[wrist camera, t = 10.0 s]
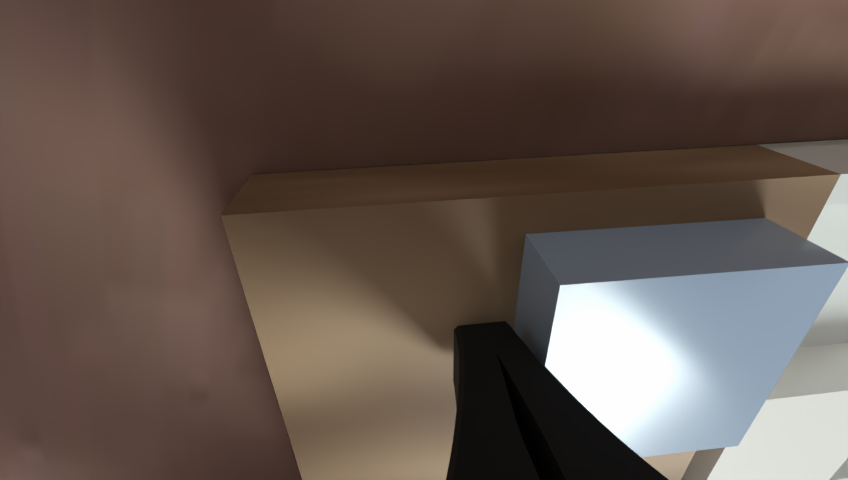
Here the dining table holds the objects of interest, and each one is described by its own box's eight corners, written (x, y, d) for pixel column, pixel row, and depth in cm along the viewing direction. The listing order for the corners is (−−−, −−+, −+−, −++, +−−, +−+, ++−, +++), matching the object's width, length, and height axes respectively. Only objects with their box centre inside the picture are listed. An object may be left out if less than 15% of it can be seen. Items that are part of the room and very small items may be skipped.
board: (632, 457, 19) (663, 512, 17) (332, 494, 18) (326, 558, 16) (756, 144, 11) (841, 174, 9) (251, 174, 10) (220, 215, 8)
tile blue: (688, 386, 13) (738, 445, 11) (504, 405, 12) (525, 470, 10) (766, 218, 10) (850, 262, 8) (525, 234, 9) (560, 285, 8)
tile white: (786, 437, 19) (828, 480, 17) (665, 452, 18) (696, 498, 17) (852, 342, 16) (911, 383, 14) (709, 357, 15) (751, 401, 14)
